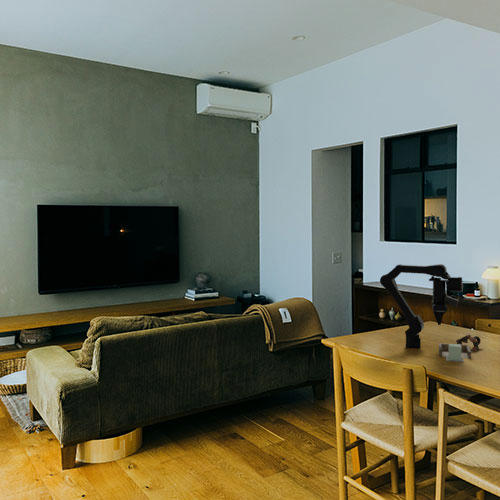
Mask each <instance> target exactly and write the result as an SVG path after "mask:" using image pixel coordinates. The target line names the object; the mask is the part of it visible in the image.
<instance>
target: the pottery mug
mask: <svg viewBox="0 0 500 500" xmlns="http://www.w3.org/2000/svg"><path fill="white" fill-rule="evenodd" d="M481 340H482V339H481V338H480V337H479V336H478V335H476V336H475V335H474V336H472V335H471V334H467V335H464V336H463V337H460V338H458V339H456V341H455V342H456V344H460V345H464V344H468V343H469V341H470V342H471V343H472V344H473V347H472V348H471V349H472V350H473V352H477V351H480V348H479V345H480V344H481ZM463 343H464V344H463Z"/></svg>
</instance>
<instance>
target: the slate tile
mask: <svg viewBox="0 0 500 500" xmlns="http://www.w3.org/2000/svg"><path fill="white" fill-rule="evenodd" d="M445 360H446V362H455V363H456V362H457V363H464V361H465V360H464V358H462V357H461V361H457V360H449V358H448V357H447V356H446V357H445Z"/></svg>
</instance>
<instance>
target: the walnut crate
mask: <svg viewBox="0 0 500 500" xmlns="http://www.w3.org/2000/svg"><path fill="white" fill-rule="evenodd" d="M449 344H450V343H440V342H439V343H438V354H439V357H445V358H446V356H447V357H448V348H449ZM459 345H460V344H459ZM461 357H462V358H463V359H471V358H472V350H471V348H470V346H469V344H463V345H461Z"/></svg>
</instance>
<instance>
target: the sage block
mask: <svg viewBox="0 0 500 500" xmlns="http://www.w3.org/2000/svg"><path fill="white" fill-rule="evenodd" d="M448 344H449V348H448V358H449V360H457V361H461V345H459V344H457V343H455V344H454V343H448Z"/></svg>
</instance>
